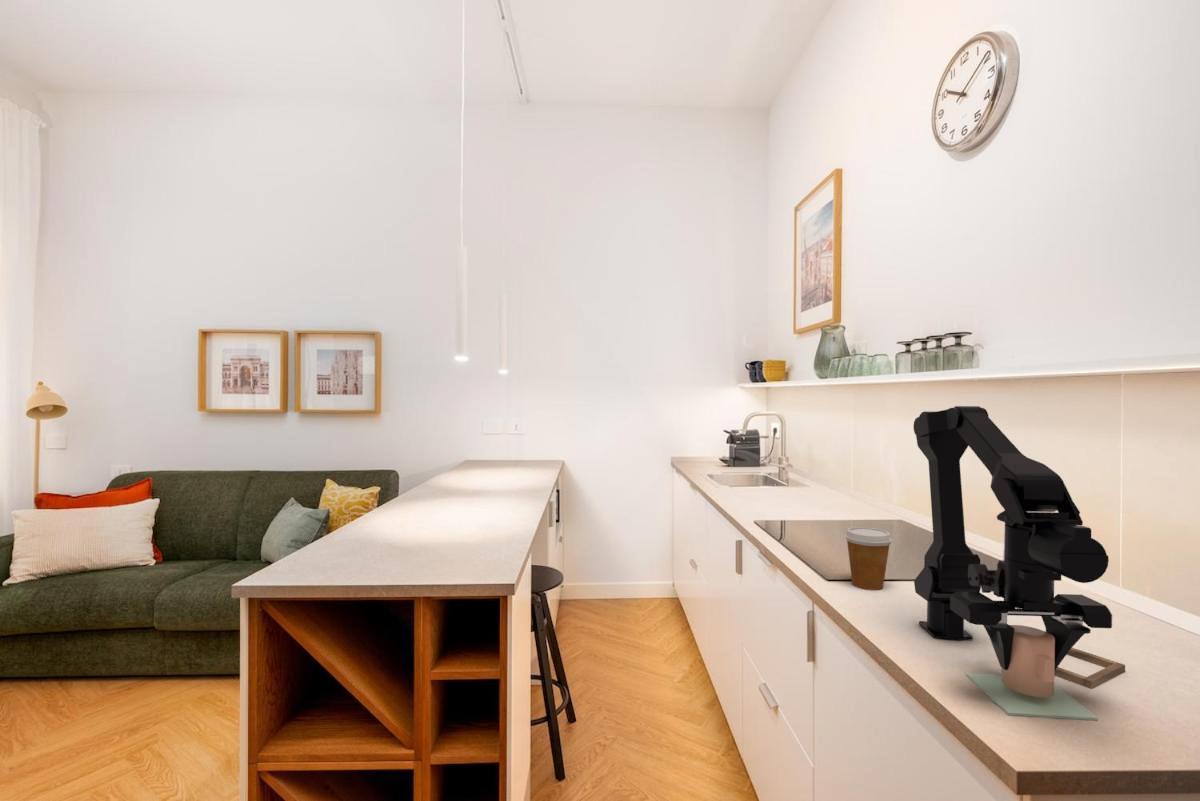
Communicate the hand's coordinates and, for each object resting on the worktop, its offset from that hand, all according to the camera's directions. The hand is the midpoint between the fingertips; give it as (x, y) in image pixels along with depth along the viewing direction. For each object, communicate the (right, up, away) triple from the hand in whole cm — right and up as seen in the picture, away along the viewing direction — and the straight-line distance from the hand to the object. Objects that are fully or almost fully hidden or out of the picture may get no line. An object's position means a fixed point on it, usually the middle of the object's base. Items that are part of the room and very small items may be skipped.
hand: (1027, 669), depth 83 cm
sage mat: (0, -4, 0) cm, 4 cm away
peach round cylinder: (0, -2, 0) cm, 2 cm away
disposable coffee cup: (-1, -3, +47) cm, 48 cm away
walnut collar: (+13, -4, +10) cm, 17 cm away
